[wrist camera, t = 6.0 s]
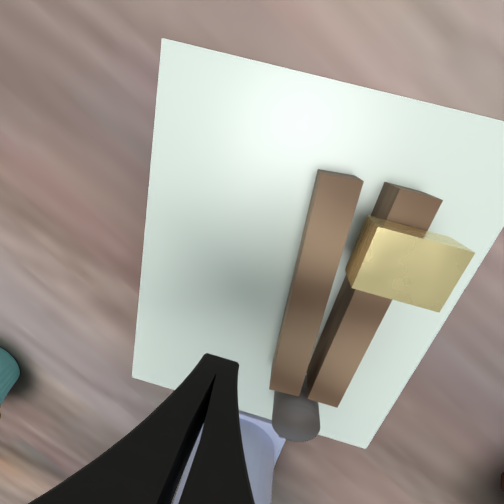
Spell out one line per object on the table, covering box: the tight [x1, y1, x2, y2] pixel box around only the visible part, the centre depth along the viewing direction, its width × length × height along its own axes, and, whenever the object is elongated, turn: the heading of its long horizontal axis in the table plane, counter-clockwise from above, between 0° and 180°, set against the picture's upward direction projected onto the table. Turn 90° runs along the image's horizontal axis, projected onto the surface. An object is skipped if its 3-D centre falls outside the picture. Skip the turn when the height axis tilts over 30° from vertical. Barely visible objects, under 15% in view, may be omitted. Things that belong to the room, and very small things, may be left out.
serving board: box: [132, 38, 504, 449], centre depth 19 cm, size 24×20×1 cm
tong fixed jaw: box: [272, 182, 443, 442], centre depth 17 cm, size 18×4×3 cm, turn 167°
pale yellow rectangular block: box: [345, 215, 475, 313], centre depth 13 cm, size 3×4×2 cm
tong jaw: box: [269, 169, 364, 396], centre depth 17 cm, size 14×2×2 cm, turn 171°
